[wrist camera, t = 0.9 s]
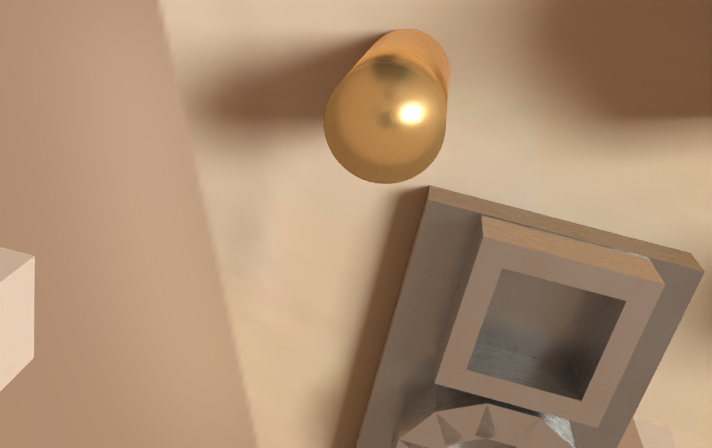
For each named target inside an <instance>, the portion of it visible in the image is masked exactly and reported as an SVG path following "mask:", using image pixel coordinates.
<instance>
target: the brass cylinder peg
mask: <svg viewBox="0 0 712 448" xmlns="http://www.w3.org/2000/svg"><path fill="white" fill-rule="evenodd" d="M448 85H449V64H448V60H447V57H446V54H445V52H444V50H443V49H442V47H441V46H440V45H439V44H438V42H437V41H436V40H434V39H433V38H432V37H431V36H429V35H428V34H426V33H423V32H421V31H418V30H413V29H399V30H395V31H392V32H389V33H387V34H385V35H384V36H382V37H381V38H379V39H378V40H377V41H376V42H375V43H374V44H373V45H372V47H371V48H370V49H369V50H368V51H367V52H366V53H365V54H364V56H363V57H362V58H361V59H360V60H359V61H358V62H357V64H356V65H355V66H354V67H353V68H352V69H351V70H350V71H349V73H348V74H347V75H346V76H345V77H344V78H343V79H342V80H341V82H340V83H339V84H338V85H337V86H336V88H335V89H334V91H333V92H332V94H331V96H330V98H329V100H328V102H327V106H326V109H325V115H324V130H325V136H326V140H327V143H328V145H329V148H330V150H331V152H332V153H333V155H334V157H335V158H336V159H337V161H338V162H339V163H340V164H341V165H342V166H343V167H344V168H345V169H346V170H348V171H349V172H350V173H352V174H353V175H355V176H357V177H359V178H361V179H363V180H366V181H369V182H374V183H382V184H390V183H398V182H402V181H405V180H408V179H410V178H413V177H415V176H416V175H418V174H420V173H421V172H422V171H424V170H425V169H426V168H427V167H428V166H429V165H430V164H431V163H432V162H433V161H434V159H435V158H436V156H437V155H438V153H439V151H440V149H441V146H442V144H443V141H444V136H445V128H446V114H447V99H448Z"/></svg>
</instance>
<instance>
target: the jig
mask: <svg viewBox="0 0 712 448" xmlns="http://www.w3.org/2000/svg"><path fill="white" fill-rule="evenodd" d="M703 274H704V270H703V269H702V268H701V266H700V265H699V264H698V263H697V261H696V260H695V259H694V257H693V256H692V255H691V253H687V252H683V251H679V250H675V249H671V248H668V247H664V246H660V245H656V244H652V243H648V242H645V241H641V240H637V239H633V238H629V237H625V236H621V235H618V234H614V233H610V232H606V231H602V230H598V229H595V228H591V227H587V226H583V225H579V224H575V223H572V222H568V221H564V220H560V219H556V218H552V217H549V216H545V215H541V214H537V213H533V212H529V211H525V210H522V209H518V208H514V207H510V206H506V205H502V204H499V203H495V202H491V201H487V200H483V199H479V198H476V197H472V196H468V195H464V194H460V193H456V192H452V191H449V190H445V189H441V188H437V187H433V186H430V187H429V191H428V194H427V198H426V201H425V205H424V208H423V212H422V215H421V218H420V222H419V225H418V229H417V232H416V236H415V239H414V243H413V246H412V250H411V253H410V257H409V260H408V264H407V267H406V271H405V274H404V278H403V281H402V285H401V288H400V292H399V295H398V299H397V302H396V306H395V309H394V313H393V316H392V320H391V323H390V327H389V330H388V334H387V337H386V341H385V344H384V348H383V351H382V355H381V358H380V361H379V365H378V368H377V372H376V375H375V379H374V382H373V386H372V389H371V393H370V396H369V400H368V403H367V407H366V410H365V414H364V417H363V421H362V424H361V428H360V431H359V435H358V438H357V442H356V445H355V448H617V447H618V445H619V443H620V441H621V439H622V437H623V435H624V433H625V431H626V429H627V427H628V425H629V423H630V421H631V419H632V417H633V415H634V413H635V411H636V409H637V407H638V405H639V403H640V401H641V399H642V397H643V395H644V393H645V391H646V389H647V387H648V385H649V383H650V381H651V379H652V377H653V375H654V373H655V371H656V369H657V367H658V365H659V363H660V361H661V359H662V357H663V355H664V353H665V351H666V349H667V347H668V345H669V343H670V341H671V339H672V337H673V335H674V333H675V331H676V329H677V327H678V325H679V322H680V320H681V318H682V316H683V314H684V312H685V310H686V308H687V306H688V304H689V302H690V300H691V298H692V296H693V294H694V292H695V290H696V288H697V286H698V284H699V282H700V280H701V278H702V276H703Z"/></svg>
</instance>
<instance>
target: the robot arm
mask: <svg viewBox="0 0 712 448" xmlns="http://www.w3.org/2000/svg"><path fill="white" fill-rule="evenodd" d="M34 272H35V257H34V256H33V255H29V254H25V253H21V252H18V251H14V250H10V249H6V248H2V247H1V248H0V391H1V390H2V389H3V388H4V387H5V386H6V385H7V384H8V383H9V382H10V381H11V380H12V379H13V378H14V377H15V376H16V375H17V374H18V373H19V372H20V371H21V370H22V369H23V368H24V367H25V366H26V365H27V364H28V363H29V362H30V361H31V360H32V359H33V358H34V276H35V273H34ZM617 448H678V446H677V444H676V441H675V439H674V437H673V434H672V432H671V429H670V427H669V426H666V425H662V424H658V423H655V422H651V421H647V420H644V419H640V418H636V417H632V419H631V421H630V423H629V425H628V427H627V429H626V431H625V433H624V435H623V437H622V439H621V441H620V443H619V445H618V447H617Z"/></svg>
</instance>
